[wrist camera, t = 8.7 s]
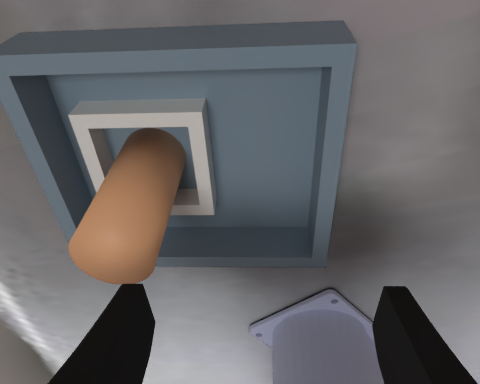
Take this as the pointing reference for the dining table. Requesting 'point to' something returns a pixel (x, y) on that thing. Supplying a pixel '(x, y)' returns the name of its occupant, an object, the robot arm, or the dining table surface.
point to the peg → (130, 210)
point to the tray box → (194, 129)
